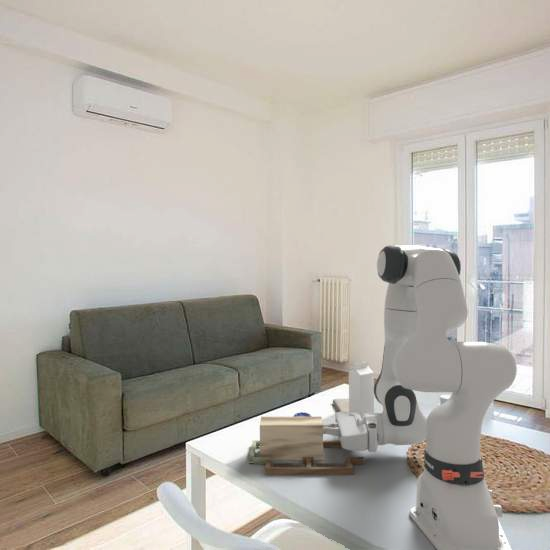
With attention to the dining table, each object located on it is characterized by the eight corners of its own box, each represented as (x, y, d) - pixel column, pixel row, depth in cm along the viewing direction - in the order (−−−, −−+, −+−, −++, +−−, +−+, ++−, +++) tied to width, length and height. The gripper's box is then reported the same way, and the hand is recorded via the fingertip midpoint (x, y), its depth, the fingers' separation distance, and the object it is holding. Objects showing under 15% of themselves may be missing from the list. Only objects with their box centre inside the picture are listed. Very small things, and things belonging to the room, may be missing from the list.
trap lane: (367, 474, 120) (367, 469, 120) (247, 474, 121) (246, 468, 121) (357, 445, 139) (357, 440, 139) (252, 445, 140) (252, 440, 140)
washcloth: (342, 420, 161) (342, 412, 161) (331, 404, 179) (331, 396, 178) (375, 419, 162) (375, 410, 162) (360, 402, 180) (360, 395, 180)
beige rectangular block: (323, 459, 129) (322, 425, 129) (260, 459, 130) (259, 425, 130) (321, 449, 136) (321, 416, 136) (261, 449, 137) (261, 416, 137)
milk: (348, 426, 154) (348, 361, 154) (362, 422, 157) (361, 359, 157) (360, 432, 149) (359, 365, 148) (374, 428, 152) (373, 363, 151)
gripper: (364, 406, 142) (319, 406, 143) (376, 431, 122) (324, 432, 122) (364, 426, 143) (320, 426, 143) (376, 455, 122) (324, 454, 123)
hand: (322, 429), depth 133 cm, fingers closed, pressing on beige rectangular block
